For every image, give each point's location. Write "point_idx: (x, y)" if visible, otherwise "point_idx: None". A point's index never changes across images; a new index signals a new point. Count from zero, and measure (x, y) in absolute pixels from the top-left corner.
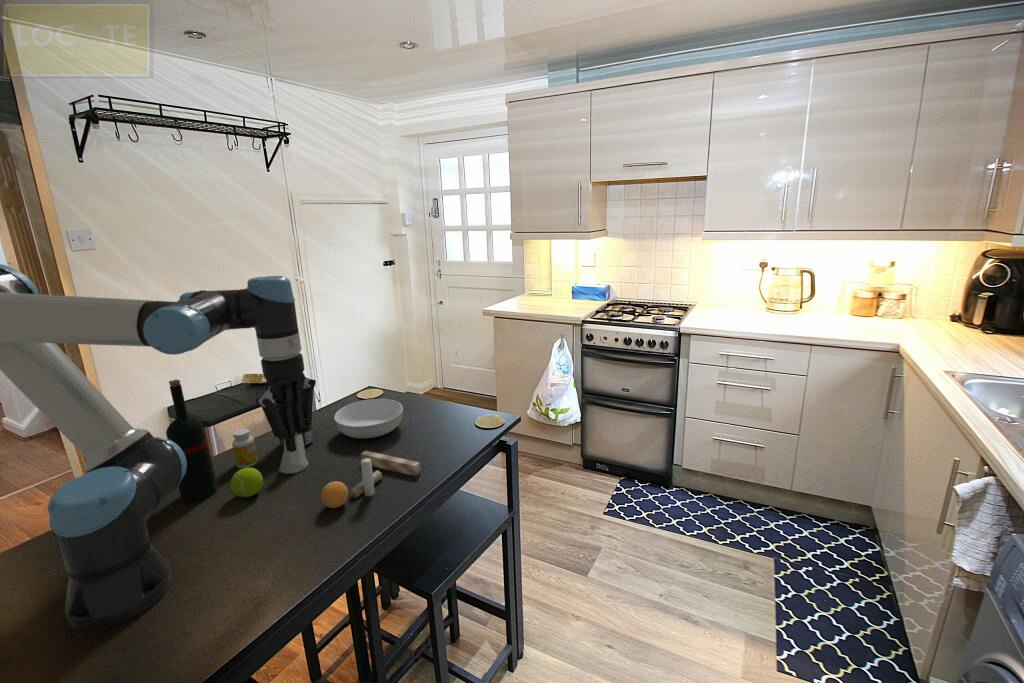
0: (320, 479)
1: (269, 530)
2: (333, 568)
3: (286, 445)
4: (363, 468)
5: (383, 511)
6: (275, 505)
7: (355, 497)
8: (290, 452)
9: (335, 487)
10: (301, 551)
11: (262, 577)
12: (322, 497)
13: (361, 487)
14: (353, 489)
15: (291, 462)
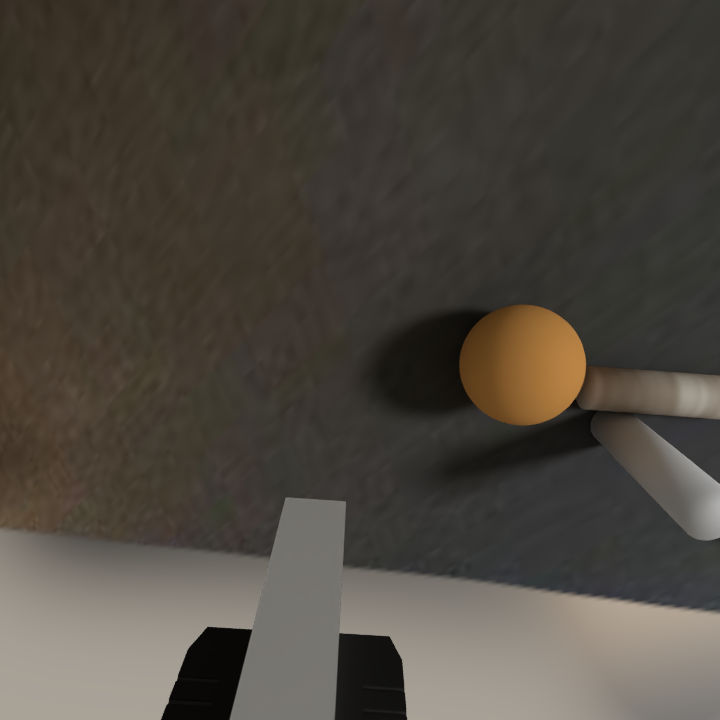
0: (699, 109)
1: (280, 195)
2: (214, 550)
3: (171, 704)
4: (663, 499)
5: (511, 531)
6: (438, 57)
7: None
8: (269, 574)
9: (516, 408)
10: (233, 410)
11: (87, 381)
12: (471, 344)
13: (619, 410)
14: (593, 393)
15: (286, 499)
